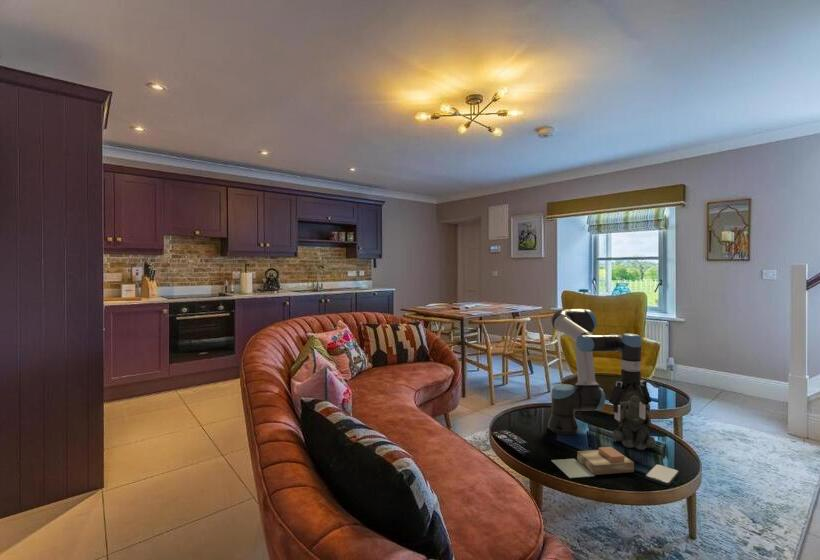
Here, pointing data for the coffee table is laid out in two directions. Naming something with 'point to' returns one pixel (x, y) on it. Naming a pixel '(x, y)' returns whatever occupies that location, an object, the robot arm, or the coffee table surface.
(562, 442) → the coffee table surface
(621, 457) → the salmon orange slab
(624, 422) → the stuffed elephant
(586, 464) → the wooden block
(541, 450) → the coffee table surface
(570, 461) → the mat
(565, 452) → the coffee table surface
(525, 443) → the coffee table surface
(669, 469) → the phone case
